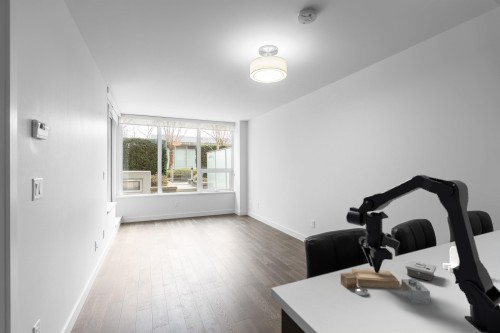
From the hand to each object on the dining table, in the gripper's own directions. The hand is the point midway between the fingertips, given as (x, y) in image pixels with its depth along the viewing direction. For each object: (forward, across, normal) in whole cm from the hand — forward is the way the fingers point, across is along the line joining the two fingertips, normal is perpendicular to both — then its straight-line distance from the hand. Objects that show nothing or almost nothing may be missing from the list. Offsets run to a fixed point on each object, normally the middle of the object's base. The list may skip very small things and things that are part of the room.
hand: (374, 269), depth 93 cm
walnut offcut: (+5, -5, +10) cm, 13 cm away
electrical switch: (+5, +6, -24) cm, 25 cm away
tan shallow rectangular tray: (+4, 0, 0) cm, 4 cm away
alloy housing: (+5, -10, -9) cm, 15 cm away
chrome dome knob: (+5, -10, +8) cm, 13 cm away
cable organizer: (+5, +16, -39) cm, 42 cm away
